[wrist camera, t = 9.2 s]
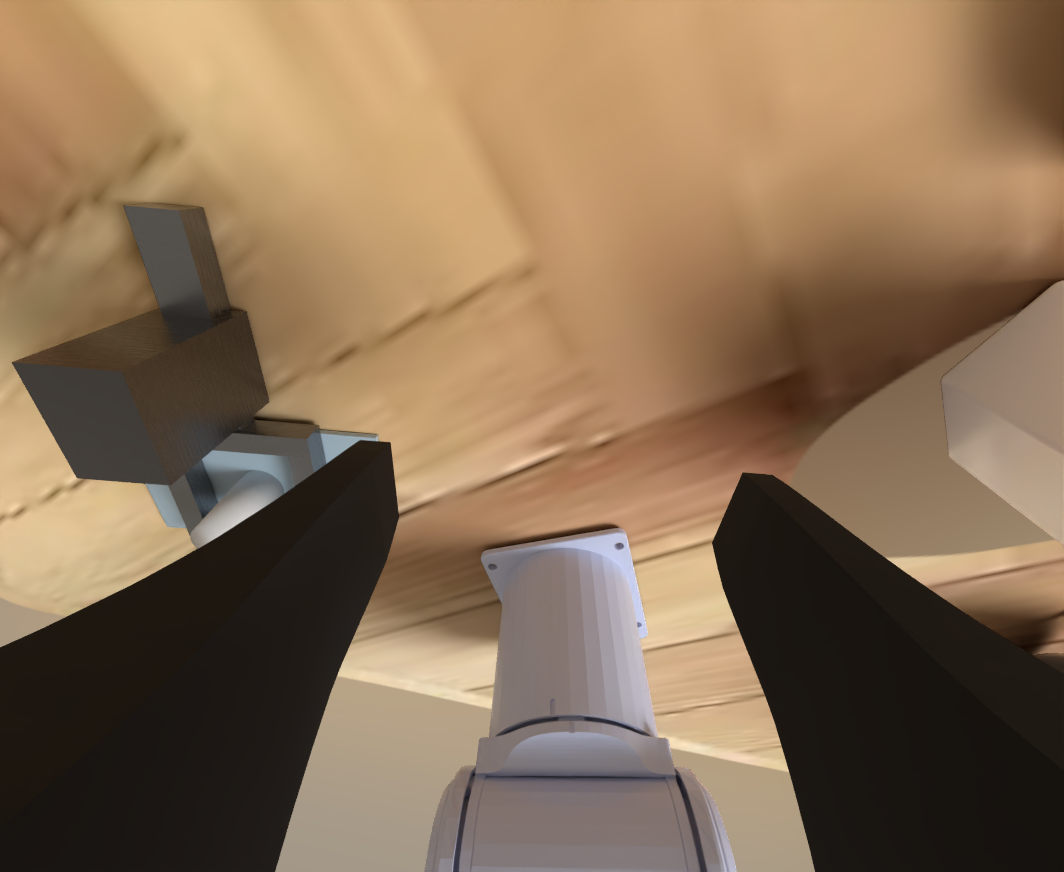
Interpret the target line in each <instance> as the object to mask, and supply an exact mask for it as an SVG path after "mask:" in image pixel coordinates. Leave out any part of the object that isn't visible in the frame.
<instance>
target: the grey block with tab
mask: <svg viewBox="0 0 1064 872" xmlns="http://www.w3.org/2000/svg"><path fill="white" fill-rule="evenodd" d="M123 206H124V209H125V212H126V215H127V217H128V220H129V223H130V226H131V229H132V231H133V234H134V237H135V240H136V243H137V245H138V248H139V251H140V254H141V257H142V260H143V262H144V265H145V268H146V271H147V274H148V276H149V279H150V282H151V285H152V288H153V290H154V293H155V296H156V299H157V302H158V305H159V307H160V308H159V309H156V310H153V311H150V312H148V313H145V314H142V315H139V316H137V317H134V318H131V319H128V320H126V321H123V322H120V323H118V324H115V325H112V326H109V327H107V328H104V329H101V330H98V331H96V332H93V333H90V334H88V335H85V336H82V337H79V338H77V339H74V340H71V341H68V342H66V343H63V344H60V345H57V346H55V347H52V348H49V349H47V350H44V351H41V352H38V353H36V354H33V355H30V356H27V357H25V358H22V359H19V360H16V361H14V362H12V364H13V366H14V367H15V369H16V371H17V373H18V374H19V376H20V378H21V380H22V382H23V383H24V385H25V387H26V389H27V390H28V392H29V394H30V396H31V397H32V399H33V401H34V403H35V405H36V406H37V408H38V410H39V412H40V413H41V415H42V417H43V419H44V420H45V422H46V424H47V426H48V428H49V429H50V431H51V433H52V435H53V436H54V438H55V440H56V442H57V443H58V445H59V447H60V449H61V451H62V452H63V454H64V456H65V458H66V459H67V461H68V463H69V465H70V466H71V468H72V470H73V472H74V474H75V475H76V477H77V478H82V479H94V480H106V481H119V482H131V483H144V484H156V485H168V486H169V489H170V491H171V493H172V496H173V498H174V500H175V503H176V505H177V507H178V509H179V512H180V514H181V516H182V519H183V521H184V523H185V525H186V528H187V530H188V532H189V535H191V532H192V531H193V529H194V528H195V527H196V526H197V525H198V524H199V523H200V522H201V521H202V520H203V519H204V518H205V516H206V515H207V514H208V513H209V512H210V511H211V510H212V509H213V508H214V507H215V506H216V505H217V504H218V501H217V498H216V496H215V493H214V490H213V488H212V485H211V482H210V480H209V477H208V474H207V472H206V469H205V466H204V463H203V461H202V459H203V458H204V457H205V456H206V455H208V454H209V453H210V452H211V451H212V450H215V451H227V452H239V453H251V454H263V455H275V456H288V458H289V462H290V466H291V470H292V474H293V478H294V482H295V486H296V485H297V484H299V483H300V482H302V481H303V480H304V479H306V478H307V477H309V476H310V475H312V474H313V473H314V472H316V471H317V470H318V469H320V468H321V467H323V466H324V465H325V464H326V458H325V453H324V448H323V443H322V438H321V433H320V428H319V425H309V424H297V423H285V422H273V421H262V420H254V416H253V415H255V414H256V413H257V412H258V411H259V410H261V409H262V408H263V407H264V406H265V405H266V404H268V403H269V398H268V394H267V390H266V386H265V382H264V378H263V374H262V371H261V367H260V363H259V359H258V355H257V351H256V347H255V343H254V339H253V335H252V331H251V327H250V324H249V320H248V316H247V312H246V311H237V310H231V308H230V304H229V301H228V297H227V293H226V290H225V286H224V282H223V279H222V275H221V271H220V268H219V264H218V260H217V257H216V253H215V249H214V246H213V242H212V238H211V235H210V231H209V227H208V224H207V220H206V216H205V213H204V209H203V208H202V207H191V206H181V205H170V204H159V203H144V204H133V205H123Z"/></svg>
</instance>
